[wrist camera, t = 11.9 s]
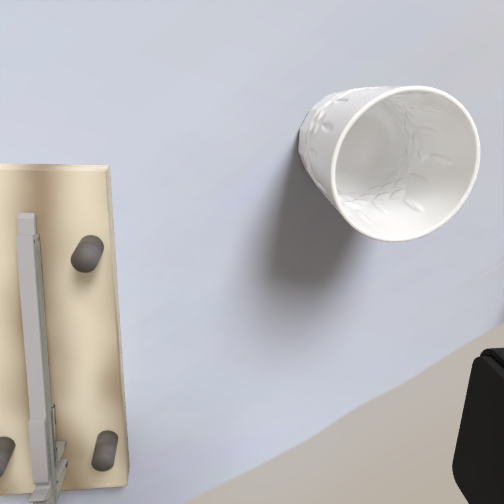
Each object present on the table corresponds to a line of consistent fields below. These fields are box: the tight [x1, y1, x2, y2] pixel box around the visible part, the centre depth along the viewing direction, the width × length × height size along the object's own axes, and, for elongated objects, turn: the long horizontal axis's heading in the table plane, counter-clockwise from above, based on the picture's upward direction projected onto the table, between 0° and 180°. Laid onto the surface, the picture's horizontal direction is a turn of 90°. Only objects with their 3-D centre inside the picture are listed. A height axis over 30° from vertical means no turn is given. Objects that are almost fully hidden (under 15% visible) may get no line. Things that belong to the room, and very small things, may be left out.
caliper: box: [16, 213, 68, 504], centre depth 31 cm, size 20×1×6 cm, turn 178°
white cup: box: [298, 86, 480, 242], centre depth 28 cm, size 8×8×10 cm
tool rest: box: [0, 164, 129, 495], centre depth 33 cm, size 10×26×4 cm, turn 178°
